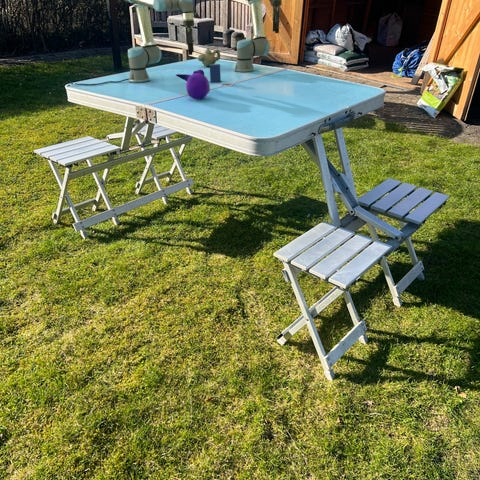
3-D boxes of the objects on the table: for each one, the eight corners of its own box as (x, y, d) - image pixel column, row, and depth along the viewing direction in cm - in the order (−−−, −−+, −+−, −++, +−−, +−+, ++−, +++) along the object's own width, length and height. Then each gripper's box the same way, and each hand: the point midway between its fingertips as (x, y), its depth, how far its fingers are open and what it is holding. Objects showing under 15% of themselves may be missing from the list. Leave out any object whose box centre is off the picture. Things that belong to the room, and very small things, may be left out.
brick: (220, 80, 335) (219, 63, 329) (220, 82, 331) (220, 65, 325) (210, 81, 334) (209, 64, 328) (210, 82, 330) (209, 65, 324)
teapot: (201, 68, 381) (200, 49, 373) (195, 66, 389) (194, 48, 382) (223, 65, 390) (222, 47, 382) (217, 64, 399) (216, 45, 391)
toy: (198, 91, 303) (209, 105, 283) (173, 86, 296) (182, 100, 275) (203, 67, 295) (215, 79, 275) (177, 62, 288) (187, 74, 267)
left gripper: (184, 18, 314) (187, 51, 324) (181, 21, 292) (184, 56, 303) (195, 18, 314) (197, 51, 324) (192, 20, 292) (195, 55, 303)
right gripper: (269, -2, 329) (268, 30, 340) (273, 0, 307) (272, 34, 318) (279, -2, 329) (278, 30, 340) (284, 0, 308) (283, 33, 318)
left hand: (191, 53), depth 314 cm, fingers open, 13 cm apart
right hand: (275, 32), depth 329 cm, fingers open, 13 cm apart
